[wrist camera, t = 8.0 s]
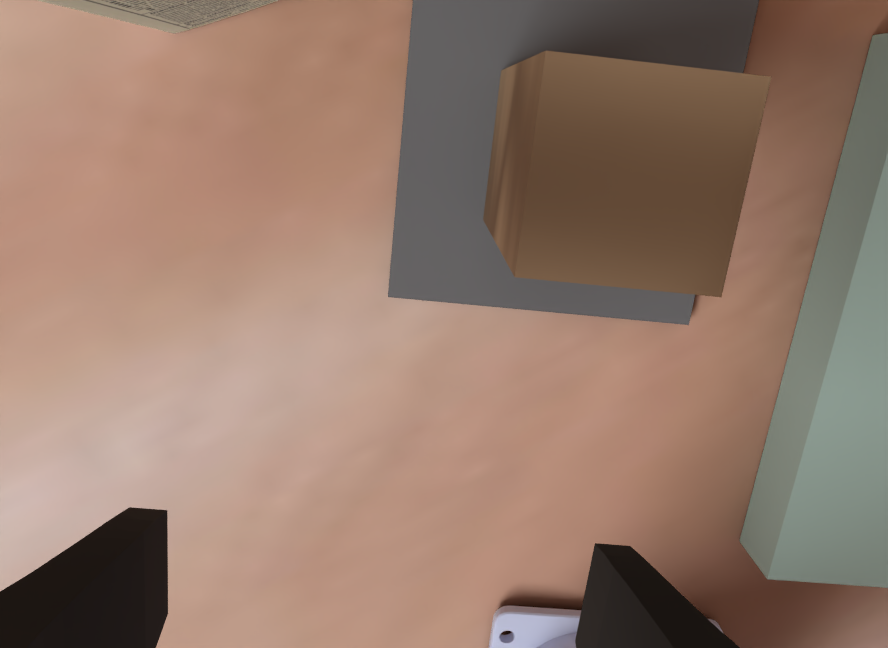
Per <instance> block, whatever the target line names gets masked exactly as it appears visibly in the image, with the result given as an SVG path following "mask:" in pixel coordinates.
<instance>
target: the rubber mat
mask: <svg viewBox="0 0 888 648" xmlns="http://www.w3.org/2000/svg"><path fill="white" fill-rule="evenodd" d="M758 3H759V0H413V7H412V18H411V30H410V42H409V54H408V66H407V78H406V90H405V101H404V113H403V125H402V137H401V149H400V161H399V173H398V184H397V196H396V208H395V220H394V232H393V244H392V256H391V267H390V279H389V291H388V297H394V298H405V299H416V300H427V301H437V302H448V303H459V304H470V305H480V306H491V307H502V308H513V309H524V310H534V311H545V312H556V313H567V314H577V315H588V316H599V317H610V318H620V319H631V320H642V321H653V322H663V323H674V324H685V325H689V321H690V317H691V312H692V307H693V303H694V298H695V295H694V294H684V293H673V292H663V291H652V290H642V289H631V288H621V287H611V286H600V285H590V284H579V283H569V282H558V281H548V280H538V279H527V278H517V277H514V275H513V273H512V272H511V270H510V268H509V266H508V264H507V263H506V261H505V259H504V257H503V255H502V253H501V252H500V250H499V248H498V246H497V244H496V243H495V241H494V239H493V237H492V235H491V233H490V232H489V230H488V228H487V226H486V224H485V222H484V221H483V216H484V208H485V199H486V191H487V183H488V175H489V166H490V158H491V150H492V142H493V134H494V125H495V117H496V109H497V101H498V92H499V84H500V76H501V70H503V69H506V68H508V67H510V66H512V65H515V64H517V63H519V62H521V61H523V60H526V59H528V58H530V57H532V56H535V55H537V54H539V53H541V52H544V51H555V52H563V53H572V54H580V55H589V56H598V57H606V58H615V59H623V60H632V61H641V62H649V63H658V64H667V65H675V66H684V67H692V68H701V69H710V70H718V71H727V72H736V73H743V72H744V67H745V63H746V58H747V53H748V49H749V44H750V40H751V35H752V30H753V26H754V21H755V17H756V12H757V7H758Z"/></svg>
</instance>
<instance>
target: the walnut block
mask: <svg viewBox="0 0 888 648" xmlns="http://www.w3.org/2000/svg"><path fill="white" fill-rule="evenodd" d="M770 81H771V77H770V76H761V75H753V74H744V73H736V72H727V71H718V70H710V69H701V68H692V67H684V66H675V65H667V64H658V63H649V62H641V61H632V60H623V59H615V58H606V57H598V56H589V55H580V54H572V53H563V52H555V51H544V52H541V53H539V54H537V55H535V56H532V57H530V58H528V59H526V60H523V61H521V62H519V63H517V64H515V65H512V66H510V67H508V68H506V69H503V70H501V76H500V84H499V92H498V101H497V109H496V117H495V125H494V134H493V142H492V150H491V158H490V166H489V175H488V183H487V191H486V199H485V208H484V216H483V221H484V222H485V224H486V226H487V228H488V230H489V232H490V233H491V235H492V237H493V239H494V241H495V243H496V244H497V246H498V248H499V250H500V252H501V253H502V255H503V257H504V259H505V261H506V263H507V264H508V266H509V268H510V270H511V272H512V273H513V275H514V277H517V278H527V279H538V280H548V281H558V282H569V283H579V284H590V285H600V286H611V287H621V288H631V289H642V290H652V291H663V292H673V293H684V294H694V295H705V296H715V297H721V296H722V292H723V287H724V283H725V279H726V274H727V270H728V265H729V261H730V257H731V252H732V248H733V244H734V239H735V235H736V230H737V226H738V222H739V217H740V213H741V209H742V204H743V200H744V195H745V191H746V187H747V182H748V178H749V173H750V169H751V165H752V160H753V156H754V152H755V147H756V143H757V138H758V134H759V130H760V125H761V121H762V116H763V112H764V108H765V103H766V99H767V95H768V90H769V86H770Z"/></svg>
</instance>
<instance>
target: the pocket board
mask: <svg viewBox="0 0 888 648" xmlns="http://www.w3.org/2000/svg"><path fill="white" fill-rule="evenodd" d="M740 543H741V544H742V546H743V547H744V548H745V550H746V551H747V552H748V554H749V555H750V556H751V558H752V559H753V561H754V562H755V563H756V565H757V566H758V567H759V569H760V570H761V572H762V573H763V574H764V576H765V577H766V578H767V579H771V580H785V581H799V582H813V583H827V584H842V585H856V586H870V587H884V588H888V33H884V34H878V35H873V36H872V40H871V44H870V48H869V51H868V55H867V59H866V63H865V67H864V70H863V74H862V78H861V82H860V86H859V89H858V93H857V97H856V101H855V105H854V108H853V112H852V116H851V120H850V123H849V127H848V131H847V135H846V139H845V142H844V146H843V150H842V154H841V158H840V161H839V165H838V169H837V173H836V177H835V180H834V184H833V188H832V192H831V196H830V199H829V203H828V207H827V211H826V214H825V218H824V222H823V226H822V230H821V233H820V237H819V241H818V245H817V249H816V252H815V256H814V260H813V264H812V268H811V271H810V275H809V279H808V283H807V287H806V290H805V294H804V298H803V302H802V305H801V309H800V313H799V317H798V321H797V324H796V328H795V332H794V336H793V340H792V343H791V347H790V351H789V355H788V359H787V362H786V366H785V370H784V374H783V378H782V381H781V385H780V389H779V393H778V397H777V400H776V404H775V408H774V412H773V415H772V419H771V423H770V427H769V431H768V434H767V438H766V442H765V446H764V450H763V453H762V457H761V461H760V465H759V469H758V472H757V476H756V480H755V484H754V488H753V491H752V495H751V499H750V503H749V506H748V510H747V514H746V518H745V522H744V525H743V529H742V533H741V537H740Z"/></svg>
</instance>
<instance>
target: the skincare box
mask: <svg viewBox="0 0 888 648" xmlns="http://www.w3.org/2000/svg"><path fill="white" fill-rule="evenodd" d="M38 1H42V2H46V3H50V4H54V5H58V6H62V7H67V8H71V9H76V10H80V11H84V12H88V13H92V14H96V15H100V16H104V17H109V18H113V19H117V20H121V21H125V22H129V23H133V24H137V25H141V26H145V27H150V28H154V29H158V30H162V31H165V32H170V33H179V32H183V31H186V30H190V29H193V28H197V27H200V26H203V25H206V24H210V23H213V22H216V21H219V20H222V19H225V18H228V17H231V16H234V15H237V14H241V13H244V12H247V11H250V10H253V9H256V8H259V7H262V6H264V5H267V4H270V3H273V2H276V1H278V0H38Z"/></svg>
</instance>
